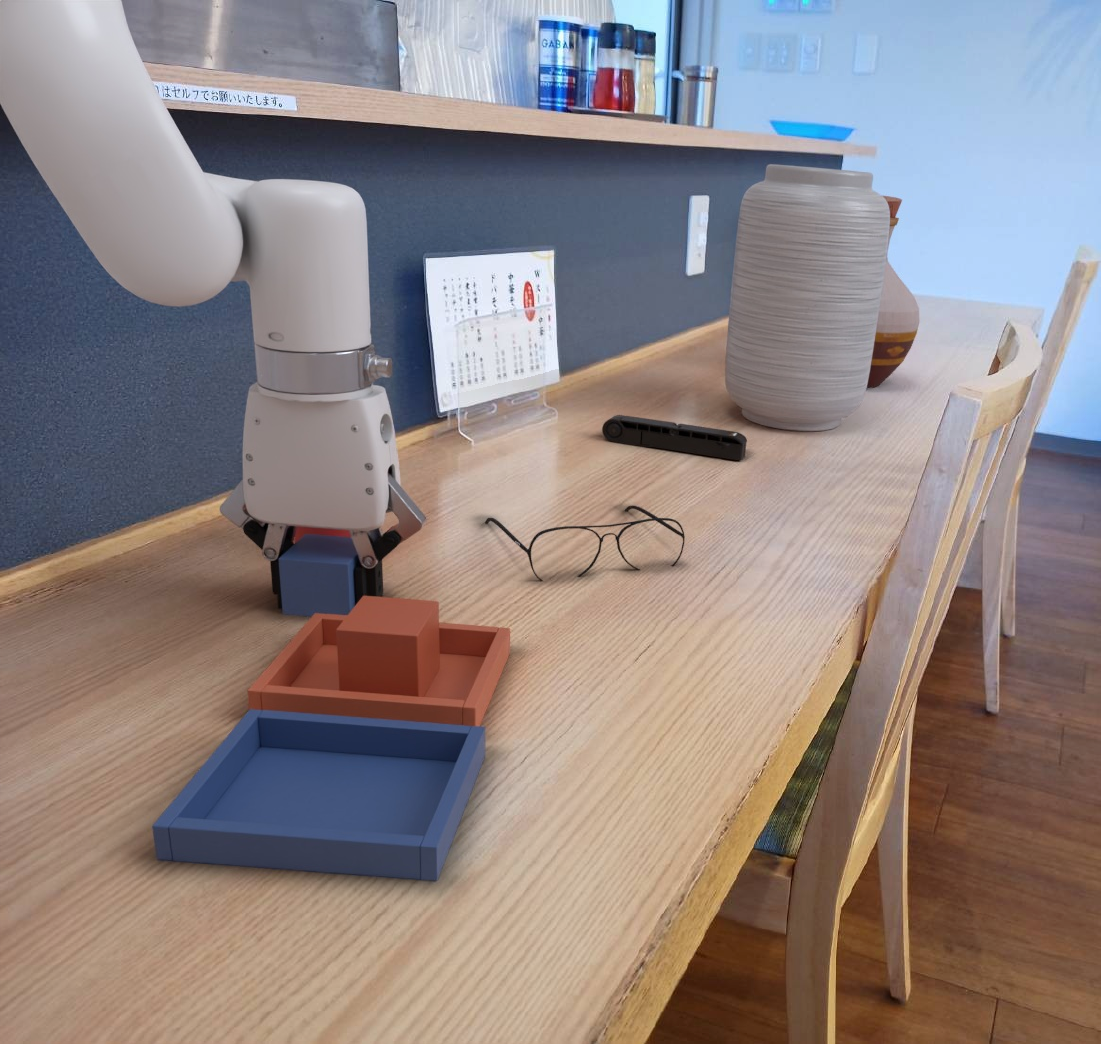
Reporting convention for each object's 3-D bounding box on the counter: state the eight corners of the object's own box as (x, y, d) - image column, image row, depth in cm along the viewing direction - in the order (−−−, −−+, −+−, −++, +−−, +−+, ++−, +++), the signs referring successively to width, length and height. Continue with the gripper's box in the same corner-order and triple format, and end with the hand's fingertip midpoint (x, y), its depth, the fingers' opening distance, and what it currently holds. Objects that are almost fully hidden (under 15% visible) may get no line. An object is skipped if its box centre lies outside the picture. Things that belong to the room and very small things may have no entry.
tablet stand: (601, 440, 123) (602, 417, 122) (608, 435, 125) (609, 412, 124) (740, 462, 119) (743, 438, 118) (746, 456, 121) (748, 433, 120)
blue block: (282, 621, 73) (278, 558, 71) (309, 592, 77) (305, 533, 76) (351, 626, 73) (348, 564, 71) (373, 597, 77) (370, 538, 76)
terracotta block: (339, 700, 62) (335, 629, 60) (366, 662, 67) (362, 595, 65) (419, 706, 62) (417, 635, 60) (440, 667, 67) (439, 600, 65)
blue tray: (157, 869, 48) (150, 825, 47) (253, 746, 58) (249, 708, 57) (437, 891, 48) (436, 847, 47) (485, 764, 58) (485, 726, 57)
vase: (691, 412, 139) (711, 159, 128) (775, 394, 154) (800, 166, 142) (809, 446, 128) (843, 171, 116) (889, 423, 142) (926, 177, 130)
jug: (802, 364, 178) (823, 189, 167) (902, 374, 177) (929, 198, 166) (802, 388, 160) (825, 193, 149) (914, 399, 158) (945, 203, 148)
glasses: (527, 590, 81) (526, 531, 80) (483, 543, 94) (481, 491, 92) (686, 571, 87) (688, 516, 86) (624, 529, 100) (624, 481, 99)
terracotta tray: (250, 727, 60) (246, 690, 59) (317, 645, 70) (314, 612, 69) (475, 745, 60) (475, 707, 59) (510, 660, 70) (510, 627, 69)
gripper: (452, 367, 72) (454, 594, 78) (217, 349, 72) (239, 577, 78) (423, 391, 65) (428, 638, 71) (163, 370, 65) (191, 619, 71)
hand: (329, 604), depth 75 cm, fingers closed on blue block, 5 cm apart
